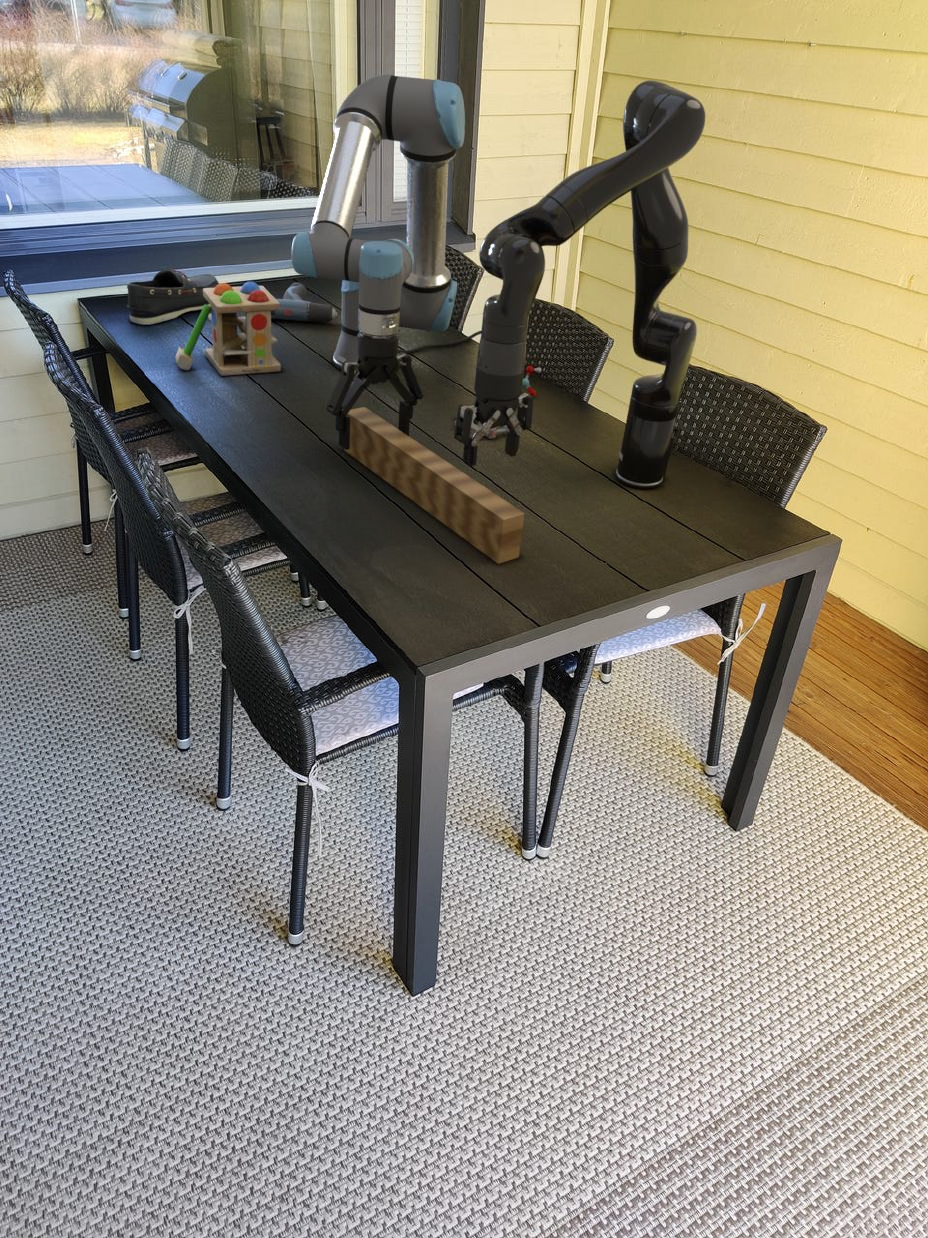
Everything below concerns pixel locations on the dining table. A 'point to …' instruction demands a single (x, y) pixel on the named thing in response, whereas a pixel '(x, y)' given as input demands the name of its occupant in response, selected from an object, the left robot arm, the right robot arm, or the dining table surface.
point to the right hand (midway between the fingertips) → (490, 459)
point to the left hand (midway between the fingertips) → (374, 440)
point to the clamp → (493, 431)
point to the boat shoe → (167, 296)
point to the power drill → (301, 307)
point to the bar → (437, 486)
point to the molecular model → (526, 381)
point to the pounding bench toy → (229, 347)
